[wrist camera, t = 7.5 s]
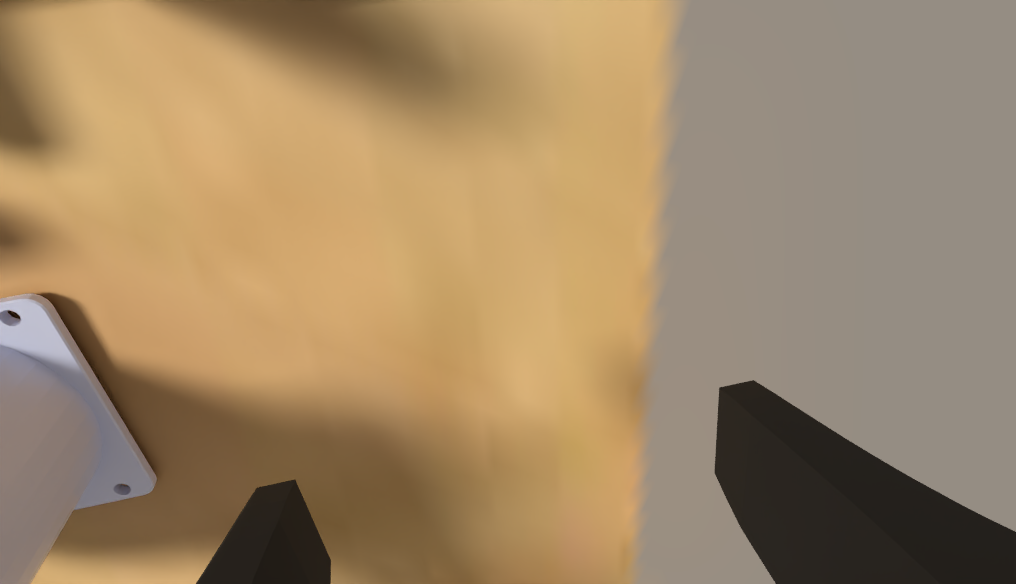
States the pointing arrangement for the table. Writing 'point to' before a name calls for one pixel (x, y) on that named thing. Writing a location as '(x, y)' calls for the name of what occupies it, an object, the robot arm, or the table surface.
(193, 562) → the table surface
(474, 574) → the table surface
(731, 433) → the robot arm
